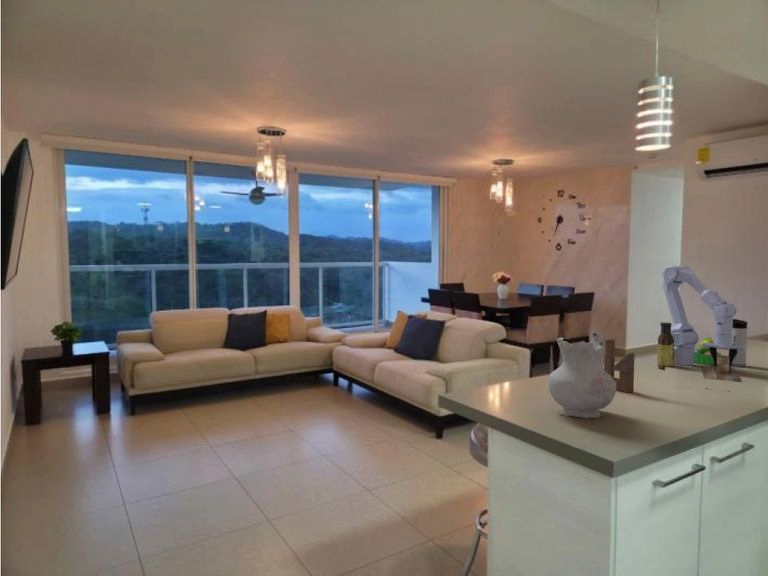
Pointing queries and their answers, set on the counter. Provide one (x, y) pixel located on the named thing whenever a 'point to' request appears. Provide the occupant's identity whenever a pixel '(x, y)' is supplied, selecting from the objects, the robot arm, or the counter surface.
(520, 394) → the counter surface
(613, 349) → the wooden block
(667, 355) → the sauce bottle
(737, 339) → the travel mug
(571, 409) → the ceramic pitcher
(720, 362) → the maple block
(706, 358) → the fruit basket
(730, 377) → the walnut board
